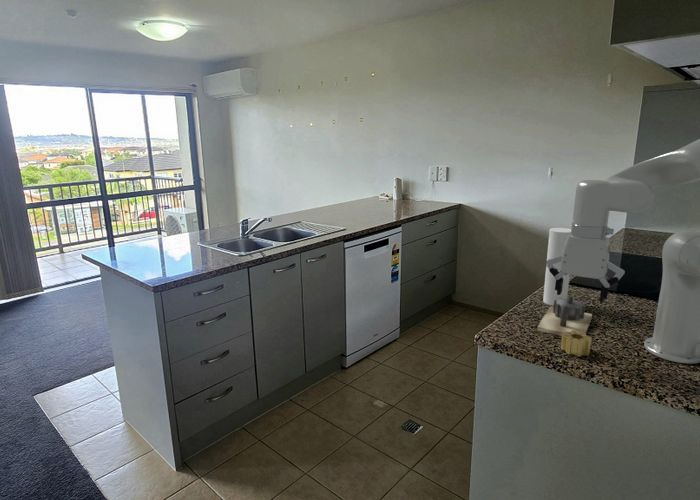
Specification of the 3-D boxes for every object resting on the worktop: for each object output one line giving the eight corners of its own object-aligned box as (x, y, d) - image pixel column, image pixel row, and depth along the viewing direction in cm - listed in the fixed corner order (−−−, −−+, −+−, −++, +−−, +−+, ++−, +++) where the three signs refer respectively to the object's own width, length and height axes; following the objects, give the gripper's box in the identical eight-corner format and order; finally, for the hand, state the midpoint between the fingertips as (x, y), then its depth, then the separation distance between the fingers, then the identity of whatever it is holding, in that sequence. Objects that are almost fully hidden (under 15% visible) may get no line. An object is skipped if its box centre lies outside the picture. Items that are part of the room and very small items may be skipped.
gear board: (591, 317, 131) (594, 295, 129) (583, 340, 117) (586, 316, 115) (549, 309, 138) (551, 289, 136) (537, 330, 124) (539, 307, 122)
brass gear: (591, 348, 113) (592, 334, 112) (587, 358, 108) (589, 344, 107) (563, 342, 117) (565, 328, 116) (559, 352, 111) (560, 338, 110)
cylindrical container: (546, 296, 149) (553, 226, 143) (568, 301, 145) (576, 229, 138) (540, 303, 144) (546, 230, 137) (563, 307, 139) (571, 233, 133)
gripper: (631, 232, 102) (620, 299, 106) (553, 225, 112) (546, 286, 116) (629, 238, 96) (618, 309, 101) (547, 230, 106) (540, 294, 110)
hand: (579, 297), depth 108 cm, fingers open, 9 cm apart
